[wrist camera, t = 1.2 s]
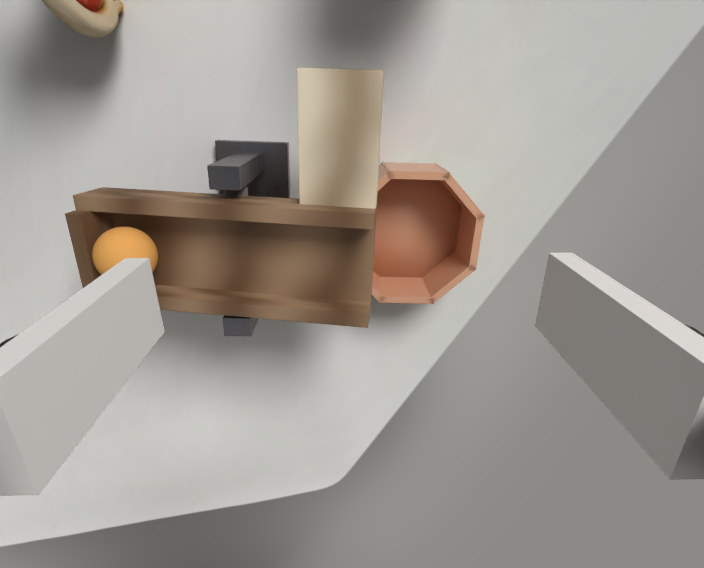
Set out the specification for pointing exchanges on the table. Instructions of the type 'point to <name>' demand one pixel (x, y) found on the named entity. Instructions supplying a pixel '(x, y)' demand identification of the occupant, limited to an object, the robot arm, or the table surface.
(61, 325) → the robot arm
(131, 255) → the ball
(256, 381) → the table surface
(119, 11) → the bird rattle
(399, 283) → the terracotta octagonal bowl
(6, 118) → the table surface
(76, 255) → the lever
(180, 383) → the table surface
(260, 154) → the lever stand
